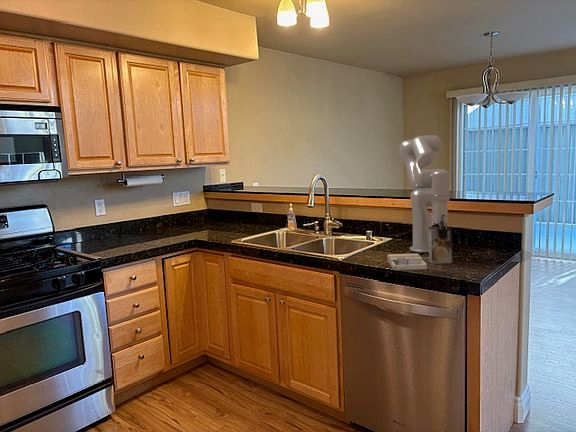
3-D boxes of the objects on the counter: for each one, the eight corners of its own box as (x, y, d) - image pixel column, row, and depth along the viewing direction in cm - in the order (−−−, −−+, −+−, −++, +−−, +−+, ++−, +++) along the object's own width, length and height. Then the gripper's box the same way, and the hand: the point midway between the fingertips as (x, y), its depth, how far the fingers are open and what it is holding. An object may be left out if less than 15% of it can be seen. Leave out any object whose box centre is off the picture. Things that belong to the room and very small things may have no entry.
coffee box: (449, 260, 205) (449, 226, 203) (452, 263, 199) (452, 228, 197) (428, 260, 206) (428, 226, 204) (431, 264, 200) (431, 229, 198)
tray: (391, 266, 200) (391, 261, 200) (422, 264, 199) (422, 260, 199) (394, 270, 192) (394, 265, 192) (427, 269, 191) (427, 264, 191)
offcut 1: (397, 257, 198) (398, 259, 195) (405, 257, 198) (406, 259, 195) (397, 265, 199) (398, 267, 195) (405, 265, 199) (406, 267, 195)
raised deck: (387, 260, 210) (387, 254, 209) (417, 259, 209) (417, 253, 209) (391, 266, 200) (391, 259, 200) (422, 264, 199) (422, 258, 199)
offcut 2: (407, 257, 197) (408, 259, 194) (415, 257, 197) (416, 259, 193) (407, 265, 198) (408, 267, 194) (415, 265, 197) (416, 267, 194)
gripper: (426, 195, 207) (426, 231, 210) (437, 201, 190) (436, 240, 194) (443, 195, 207) (442, 231, 210) (454, 200, 190) (454, 239, 193)
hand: (439, 235), depth 202 cm, fingers open, 9 cm apart
